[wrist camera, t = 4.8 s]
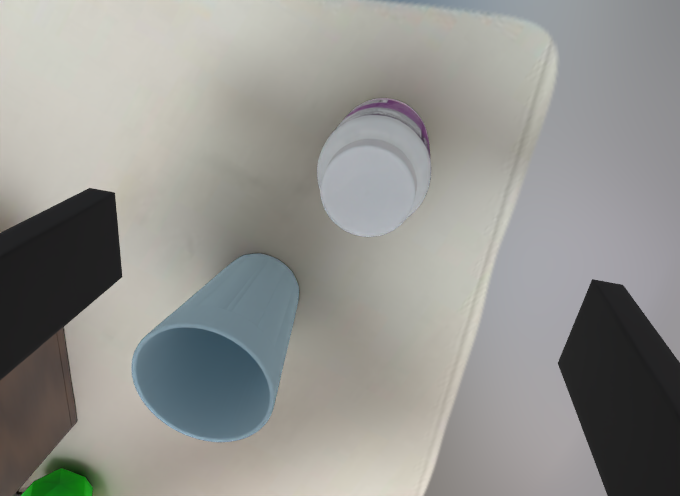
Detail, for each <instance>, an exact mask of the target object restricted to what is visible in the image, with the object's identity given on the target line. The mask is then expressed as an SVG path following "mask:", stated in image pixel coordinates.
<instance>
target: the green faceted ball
mask: <svg viewBox="0 0 680 496" xmlns="http://www.w3.org/2000/svg"><path fill="white" fill-rule="evenodd" d="M92 492H93V487H92V486H91V484H90V483H89V482H88V480H87V479H86V477H84V476H81V475H79V474H76V473H73V472H71V471H68V470H65V469H63V468H60V469H58V470H56V471H54V472H52V473H50V474H48V475H46V476H44V477H42V478H40V479H38V480H36V481H34V482H33V483H32V484H31V485H30V486H29V487H28V488H27V489H26V490H25V492H24V493H23V494H22V495H21V496H92Z"/></svg>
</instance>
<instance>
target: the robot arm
mask: <svg viewBox="0 0 680 496" xmlns="http://www.w3.org/2000/svg"><path fill="white" fill-rule="evenodd" d="M121 277H122V269H121V257H120V246H119V235H118V223H117V212H116V201H115V193H114V192H108V191H103V190H97V189H92V188H89V189H87V190H85V191H83V192H81V193H79V194H77V195H75V196H73V197H71V198H69V199H67V200H65V201H63V202H61V203H59V204H57V205H55V206H53V207H51V208H49V209H47V210H45V211H43V212H41V213H39V214H37V215H35V216H33V217H31V218H29V219H27V220H25V221H23V222H21V223H19V224H17V225H15V226H13V227H11V228H9V229H7V230H5V231H3V232H1V233H0V380H1V379H3V378H4V377H5V376H6V375H7V374H8V373H10V372H11V371H12V370H13V369H14V368H15V367H17V366H18V365H19V364H20V363H21V362H23V361H24V360H25V359H26V358H27V357H28V356H30V355H31V354H32V353H33V352H34V351H36V350H37V349H38V348H39V347H40V346H41V345H43V344H44V343H45V342H46V341H47V340H48V339H50V338H51V337H52V336H53V335H54V334H56V333H57V332H58V331H59V330H60V329H61V328H63V327H64V326H65V325H66V324H67V323H68V322H70V321H71V320H72V319H73V318H74V317H76V316H77V315H78V314H79V313H80V312H81V311H83V310H84V309H85V308H86V307H87V306H89V305H90V304H91V303H92V302H93V301H94V300H96V299H97V298H98V297H99V296H100V295H101V294H103V293H104V292H105V291H106V290H107V289H109V288H110V287H111V286H112V285H113V284H114V283H116V282H117V281H118V280H119V279H120V278H121ZM558 365H559V368H560V370H561V373H562V375H563V378H564V381H565V383H566V386H567V389H568V391H569V394H570V397H571V399H572V402H573V405H574V407H575V410H576V412H577V415H578V418H579V421H580V423H581V426H582V429H583V431H584V434H585V437H586V439H587V442H588V445H589V447H590V450H591V452H592V455H593V458H594V460H595V463H596V466H597V468H598V471H599V474H600V476H601V479H602V482H603V485H604V487H605V490H606V492H607V495H608V496H680V363H679V361H678V360H677V359H676V357H675V356H674V354H673V353H672V352H671V350H670V349H669V347H668V346H667V345H666V343H665V342H664V341H663V339H662V338H661V336H660V335H659V334H658V332H657V331H656V330H655V328H654V327H653V326H652V324H651V323H650V321H649V320H648V319H647V317H646V316H645V315H644V313H643V312H642V310H641V309H640V308H639V306H638V305H637V304H636V302H635V301H634V300H633V298H632V297H631V295H630V294H629V293H628V291H627V290H626V288H625V287H624V286H623V285H620V284H615V283H609V282H604V281H598V280H592V281H591V284H590V286H589V289H588V291H587V294H586V296H585V298H584V301H583V303H582V306H581V308H580V310H579V313H578V316H577V318H576V320H575V323H574V325H573V328H572V330H571V332H570V335H569V337H568V340H567V342H566V345H565V347H564V350H563V352H562V355H561V357H560V359H559V362H558ZM13 496H21V495H20V494H17V493H15V494H14V495H13Z"/></svg>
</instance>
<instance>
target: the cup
mask: <svg viewBox="0 0 680 496" xmlns="http://www.w3.org/2000/svg"><path fill="white" fill-rule="evenodd" d="M298 300H299V286H298V283H297V280H296V278H295V276H294V274H293V273H292V271H291V270H290V269H289V268H288V267H287V266H286V265H285V264H284V263H283V262H281V261H280V260H278V259H276V258H274V257H271V256H268V255H265V254H259V253H257V254H247V255H243V256H241V257H239V258H238V259H236V260H235V261H233V262H232V263H231V264H229V265H228V266H227V267H226V268H225V269H223V270H222V271H221V272H220V273H219V274H218V275H216V276H215V277H214V278H213V279H212V280H211V281H209V282H208V283H207V284H206V285H205V286H204V287H202V288H201V289H200V290H199V291H198V292H197V293H195V294H194V295H193V296H192V297H191V298H190V299H188V300H187V301H186V302H185V303H184V304H183V305H182V306H180V307H179V308H178V309H177V310H176V311H175V312H173V313H172V314H171V315H170V316H168V317H167V318H166V319H165V320H164V321H162V322H161V323H160V324H159V325H158V326H157V327H155V328H154V329H153V330H152V331H151V332H150V333H148V334H147V335H146V336H145V337H144V338H143V339H142V340H141V342H140V343H139V344H138V346H137V348H136V350H135V352H134V355H133V359H132V377H133V382H134V385H135V388H136V390H137V392H138V394H139V396H140V397H141V399H142V401H143V402H144V403H145V405H146V406H147V407H148V408H149V410H150V411H151V412H152V413H153V414H154V415H155V416H156V417H157V418H159V419H160V420H161V421H162V422H164V423H165V424H166V425H168V426H169V427H171V428H173V429H175V430H176V431H178V432H180V433H182V434H185V435H187V436H190V437H193V438H196V439H200V440H204V441H211V442H230V441H236V440H241V439H244V438H246V437H249V436H251V435H252V434H254V433H256V432H257V431H259V430H260V429H261V428H262V427H263V426H264V425H265V424H266V422H267V421H268V420H269V418H270V416H271V414H272V411H273V408H274V404H275V400H276V395H277V391H278V387H279V383H280V377H281V373H282V369H283V365H284V361H285V356H286V352H287V348H288V344H289V340H290V335H291V331H292V327H293V323H294V319H295V314H296V310H297V305H298Z"/></svg>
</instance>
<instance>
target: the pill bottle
mask: <svg viewBox="0 0 680 496" xmlns="http://www.w3.org/2000/svg"><path fill="white" fill-rule="evenodd" d="M317 179H318V185H319V188H320V193H321V200H322V203H323V206H324V209H325V211H326V213H327V214H328V216H329V217H330V218H331V220H332V221H333V222H334V223H335V224H336V225H337V226H339V227H340V228H341V229H343V230H345V231H346V232H348V233H351V234H353V235H357V236H363V237H375V236H381V235H384V234H387V233H389V232H391V231H393V230H395V229H396V228H397V227H399V226H400V225H401V224H402V223H403V222H404V221H405V220H406V218H407V217H409V216H410V215H411V214H412V213H413V212H414V211H415V210H416V209H417V208H418V207H419V206H420V204H421V203H422V201H423V200H424V198H425V196H426V194H427V191H428V188H429V184H430V180H431V161H430V148H429V139H428V134H427V130H426V127H425V125H424V123H423V121H422V119H421V118H420V116H419V115H418V114H417V113H416V112H415V111H414V110H413V109H412V108H411V107H410V106H408V105H407V104H405V103H403V102H401V101H398V100H395V99H390V98H377V99H372V100H368V101H366V102H364V103H362V104H360V105H358V106H357V107H355V108H354V109H353V110H352V111H351V112H350V113H349V114H348V115H347V116H346V117H345V118H344V119H343V121H342V122H341V123H340V124H339V125H338V127H337V128H336V129H335V130H334V131H333V133H332V134H331V135H330V136H329V137H328V140H327V141H326V143H325V145H324V146H323V148H322V151H321V153H320V156H319V160H318V166H317Z"/></svg>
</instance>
